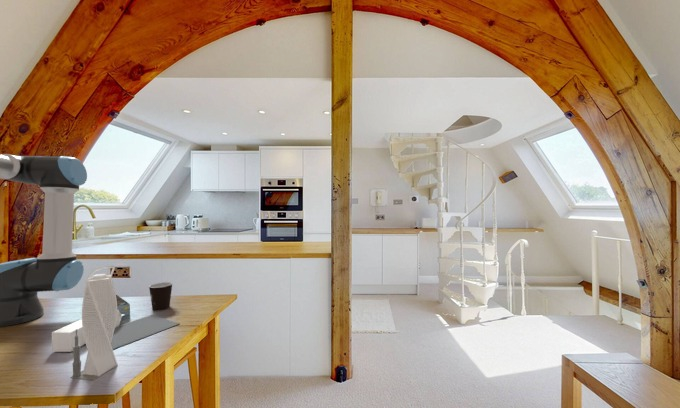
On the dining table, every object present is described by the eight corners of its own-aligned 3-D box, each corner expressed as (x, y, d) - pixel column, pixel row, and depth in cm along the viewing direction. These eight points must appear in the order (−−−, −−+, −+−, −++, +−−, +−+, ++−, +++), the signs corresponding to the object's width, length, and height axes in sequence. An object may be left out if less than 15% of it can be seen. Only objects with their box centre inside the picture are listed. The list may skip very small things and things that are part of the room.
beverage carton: (105, 324, 111) (105, 307, 111) (92, 313, 123) (92, 297, 123) (130, 318, 117) (130, 301, 117) (116, 307, 129) (115, 292, 129)
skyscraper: (101, 361, 85) (100, 265, 85) (125, 364, 84) (124, 266, 84) (70, 378, 77) (69, 272, 77) (97, 381, 76) (95, 273, 76)
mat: (77, 340, 98) (77, 339, 98) (152, 315, 119) (152, 314, 119) (103, 353, 89) (103, 352, 89) (179, 324, 111) (179, 323, 111)
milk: (51, 351, 90) (109, 322, 112) (70, 352, 90) (125, 322, 112) (51, 331, 90) (109, 306, 112) (70, 332, 90) (125, 306, 112)
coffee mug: (169, 310, 125) (169, 286, 125) (146, 312, 122) (145, 288, 122) (176, 301, 136) (176, 279, 136) (155, 303, 134) (155, 281, 134)
